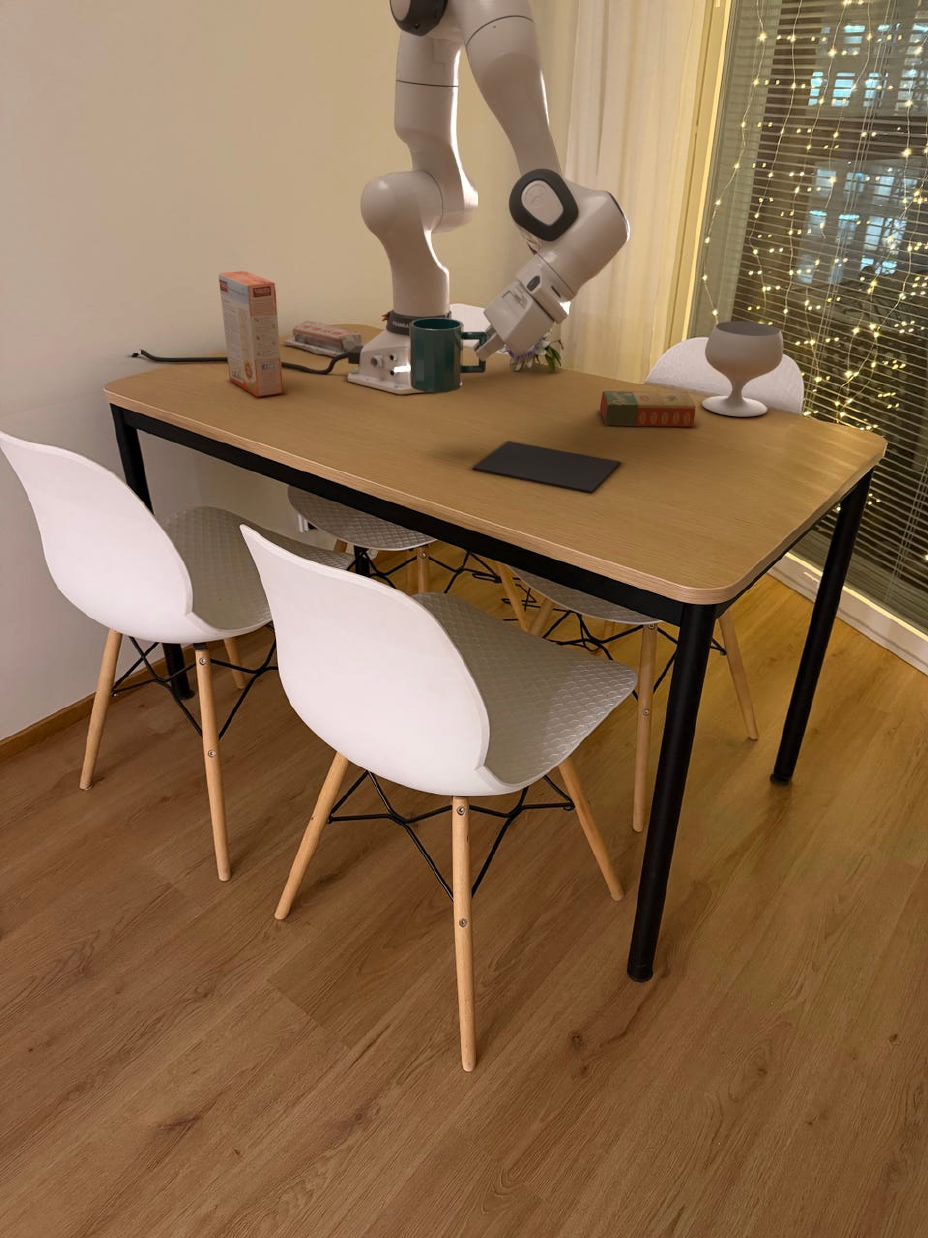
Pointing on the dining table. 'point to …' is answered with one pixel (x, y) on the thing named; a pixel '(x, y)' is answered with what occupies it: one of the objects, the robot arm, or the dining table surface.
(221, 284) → the cracker box
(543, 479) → the placemat
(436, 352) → the mug
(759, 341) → the chalice
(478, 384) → the dining table surface
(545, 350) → the passion flower
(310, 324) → the packaged product
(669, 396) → the carton
